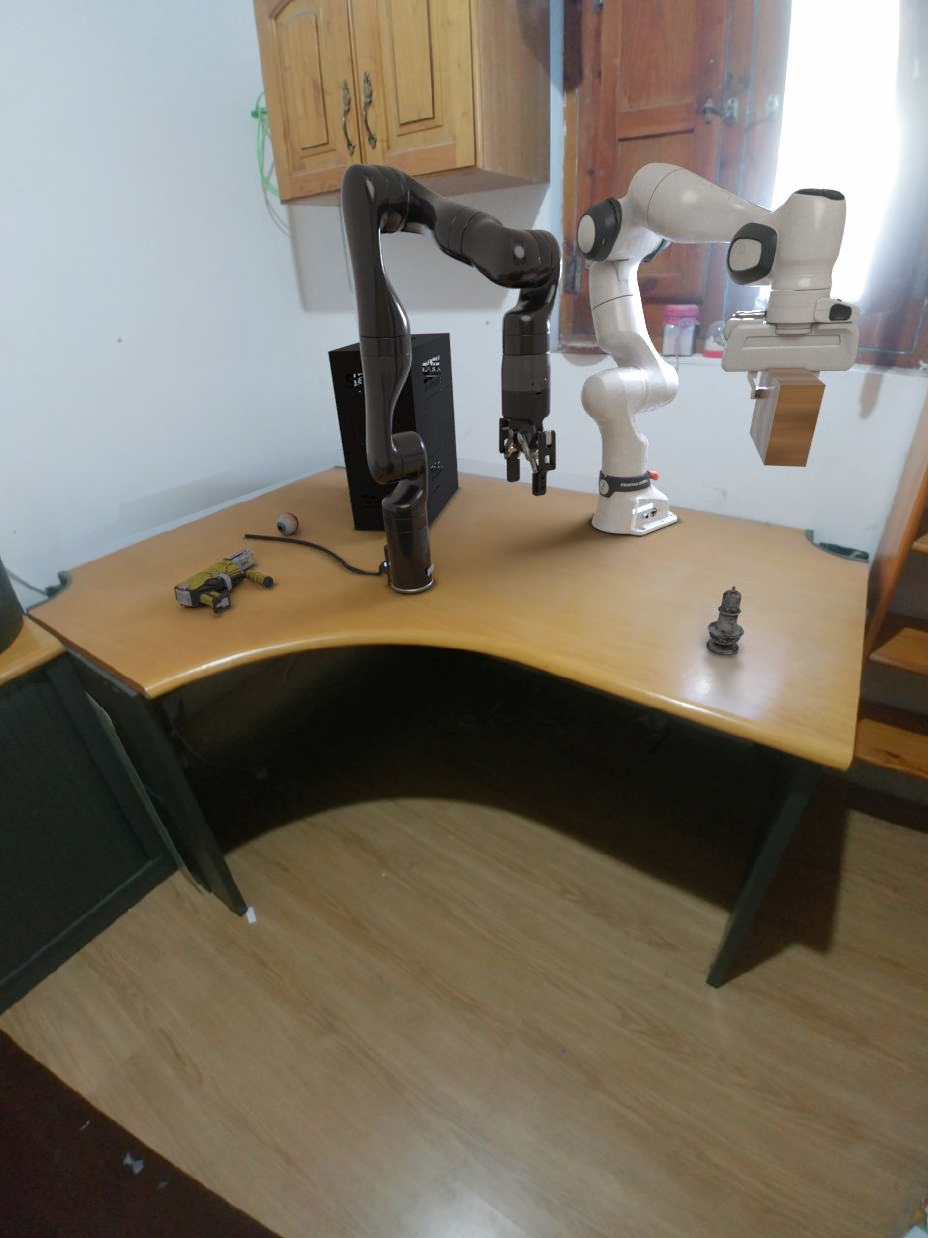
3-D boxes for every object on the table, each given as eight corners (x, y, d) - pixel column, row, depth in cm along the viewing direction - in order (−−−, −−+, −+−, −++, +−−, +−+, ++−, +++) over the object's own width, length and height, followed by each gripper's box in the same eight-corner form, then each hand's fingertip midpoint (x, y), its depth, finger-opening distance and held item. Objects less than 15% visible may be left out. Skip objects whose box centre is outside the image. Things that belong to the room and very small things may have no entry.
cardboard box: (425, 532, 161) (409, 348, 139) (354, 529, 166) (327, 351, 143) (458, 487, 193) (449, 332, 170) (398, 486, 197) (382, 335, 175)
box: (749, 433, 111) (762, 363, 105) (784, 433, 110) (799, 363, 104) (763, 465, 94) (780, 384, 88) (805, 466, 92) (825, 384, 86)
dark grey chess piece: (743, 656, 104) (756, 594, 98) (707, 654, 105) (718, 593, 99) (737, 638, 109) (749, 578, 103) (702, 636, 110) (712, 577, 104)
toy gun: (294, 557, 143) (240, 546, 147) (227, 600, 123) (168, 586, 127) (295, 575, 145) (243, 564, 149) (230, 620, 125) (172, 606, 129)
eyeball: (273, 537, 164) (268, 516, 161) (287, 528, 169) (282, 508, 166) (291, 539, 161) (286, 518, 158) (305, 530, 166) (301, 510, 163)
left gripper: (483, 381, 96) (486, 481, 104) (527, 394, 85) (527, 504, 93) (524, 376, 99) (524, 473, 107) (572, 387, 88) (568, 495, 96)
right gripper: (728, 313, 98) (714, 401, 105) (871, 308, 92) (847, 402, 99) (725, 310, 103) (712, 395, 110) (861, 305, 98) (838, 395, 105)
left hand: (525, 487), depth 100 cm, fingers open, 8 cm apart
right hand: (777, 398), depth 105 cm, fingers closed on box, 6 cm apart
